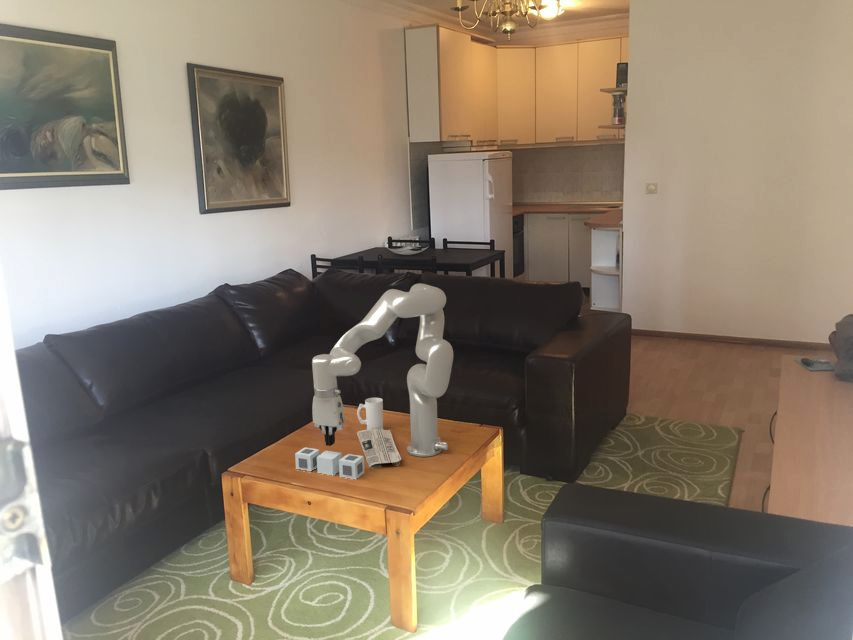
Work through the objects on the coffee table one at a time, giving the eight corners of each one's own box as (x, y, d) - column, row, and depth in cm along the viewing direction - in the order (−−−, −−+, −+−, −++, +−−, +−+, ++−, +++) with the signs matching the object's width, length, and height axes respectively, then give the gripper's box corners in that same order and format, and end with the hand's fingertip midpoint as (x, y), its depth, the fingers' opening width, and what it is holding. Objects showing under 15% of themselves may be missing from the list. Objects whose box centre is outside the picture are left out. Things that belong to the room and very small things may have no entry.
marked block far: (321, 466, 252) (320, 449, 251) (311, 473, 246) (310, 455, 245) (305, 463, 254) (304, 446, 253) (295, 470, 249) (294, 453, 247)
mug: (383, 426, 289) (381, 397, 287) (384, 432, 282) (383, 402, 280) (357, 428, 288) (356, 398, 285) (358, 434, 281) (357, 404, 279)
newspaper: (357, 436, 280) (356, 427, 280) (389, 432, 283) (388, 424, 282) (370, 472, 247) (369, 462, 246) (406, 468, 249) (406, 458, 248)
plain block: (342, 469, 249) (341, 452, 247) (333, 476, 243) (332, 459, 242) (326, 467, 251) (325, 450, 250) (317, 473, 246) (316, 456, 244)
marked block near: (364, 473, 245) (364, 455, 244) (355, 480, 240) (355, 462, 238) (348, 470, 248) (347, 453, 246) (339, 477, 242) (338, 460, 241)
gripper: (351, 390, 242) (355, 442, 246) (312, 386, 248) (317, 438, 252) (340, 397, 235) (344, 451, 239) (300, 393, 241) (305, 446, 245)
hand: (330, 444), depth 245 cm, fingers closed
